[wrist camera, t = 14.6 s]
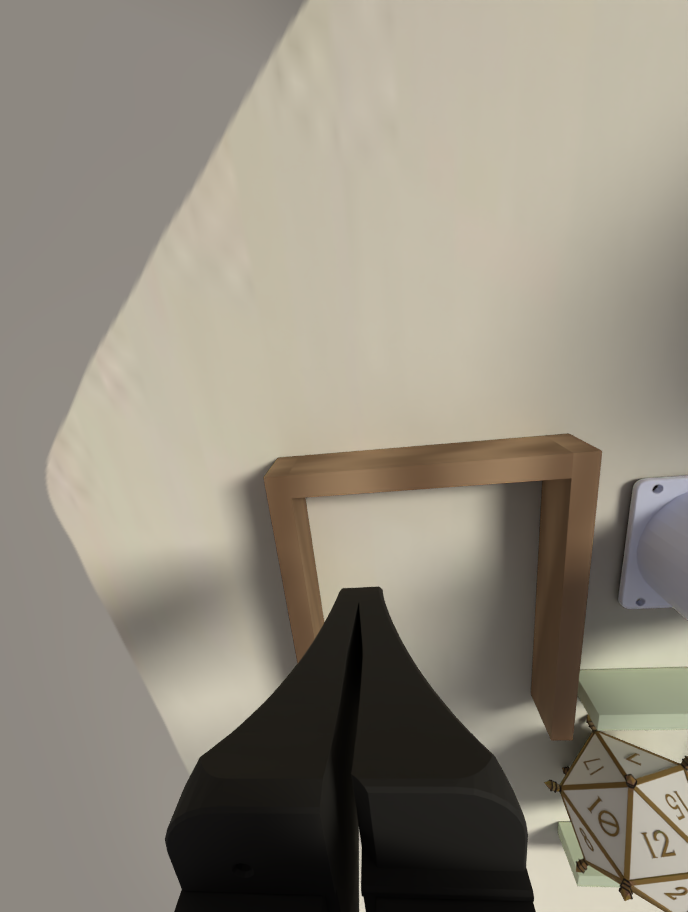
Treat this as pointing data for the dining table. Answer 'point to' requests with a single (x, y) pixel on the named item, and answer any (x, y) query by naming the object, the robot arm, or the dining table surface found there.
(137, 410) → the dining table surface
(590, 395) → the dining table surface
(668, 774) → the game die
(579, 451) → the wooden arch frame
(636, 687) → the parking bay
